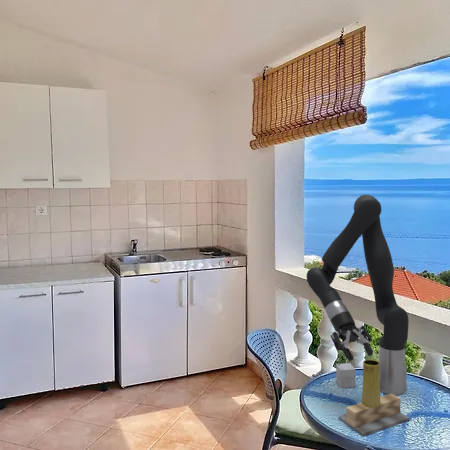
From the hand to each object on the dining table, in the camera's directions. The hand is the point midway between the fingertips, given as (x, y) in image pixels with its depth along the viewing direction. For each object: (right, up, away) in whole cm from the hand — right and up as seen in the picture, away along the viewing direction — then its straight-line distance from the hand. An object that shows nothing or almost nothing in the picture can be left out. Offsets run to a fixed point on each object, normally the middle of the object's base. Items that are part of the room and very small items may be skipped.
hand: (361, 357), depth 160 cm
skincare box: (+1, -18, +25) cm, 30 cm away
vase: (+2, -15, -3) cm, 15 cm away
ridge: (+4, -20, -2) cm, 21 cm away
